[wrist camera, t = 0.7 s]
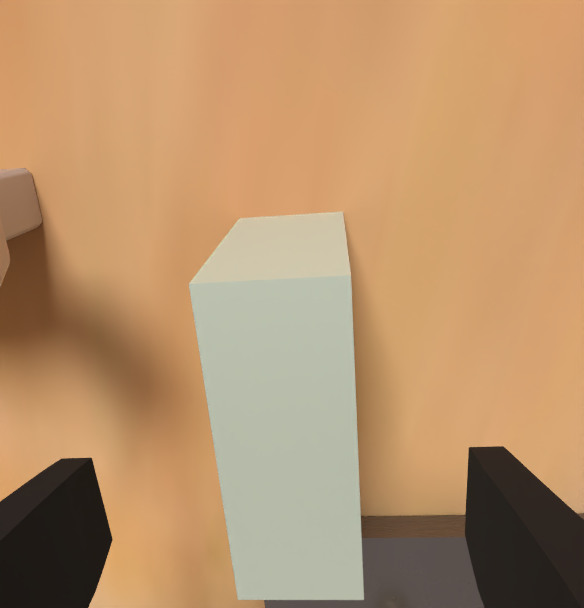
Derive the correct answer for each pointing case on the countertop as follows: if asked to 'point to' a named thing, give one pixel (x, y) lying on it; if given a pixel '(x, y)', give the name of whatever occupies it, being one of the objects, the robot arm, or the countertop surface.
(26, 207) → the lighter
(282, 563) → the sage block
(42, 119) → the countertop surface
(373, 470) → the countertop surface
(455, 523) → the standoff plate
